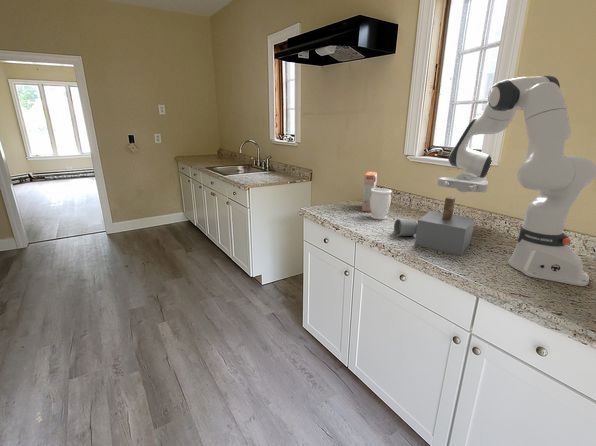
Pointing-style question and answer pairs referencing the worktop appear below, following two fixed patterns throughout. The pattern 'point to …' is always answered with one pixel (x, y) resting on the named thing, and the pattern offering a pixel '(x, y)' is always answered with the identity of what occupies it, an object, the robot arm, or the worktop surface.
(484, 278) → the worktop surface
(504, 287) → the worktop surface
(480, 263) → the worktop surface
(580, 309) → the worktop surface
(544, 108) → the robot arm
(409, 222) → the ceramic mug
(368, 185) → the cracker box
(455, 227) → the lid
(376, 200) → the jar
